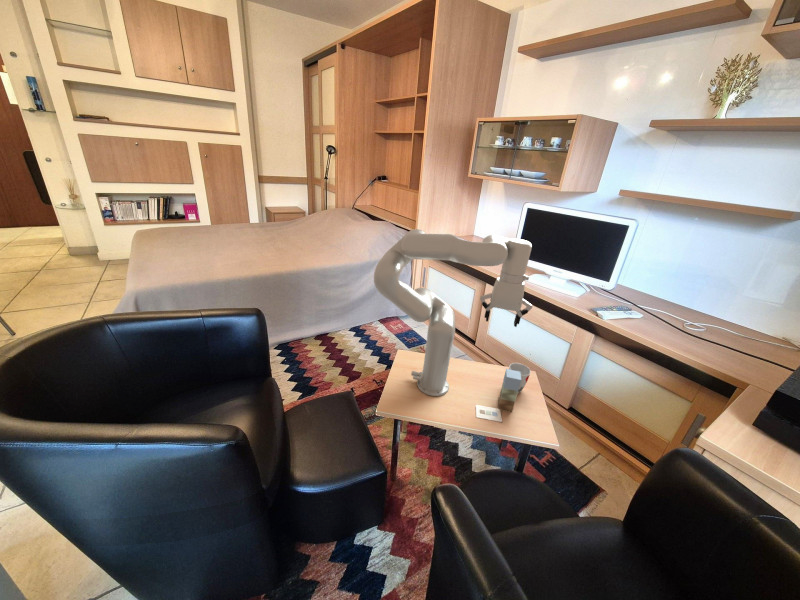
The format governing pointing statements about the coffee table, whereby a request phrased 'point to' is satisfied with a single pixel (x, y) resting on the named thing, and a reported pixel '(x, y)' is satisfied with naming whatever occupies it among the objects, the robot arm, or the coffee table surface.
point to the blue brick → (512, 379)
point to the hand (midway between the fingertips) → (500, 322)
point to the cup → (524, 373)
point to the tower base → (503, 403)
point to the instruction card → (488, 413)
